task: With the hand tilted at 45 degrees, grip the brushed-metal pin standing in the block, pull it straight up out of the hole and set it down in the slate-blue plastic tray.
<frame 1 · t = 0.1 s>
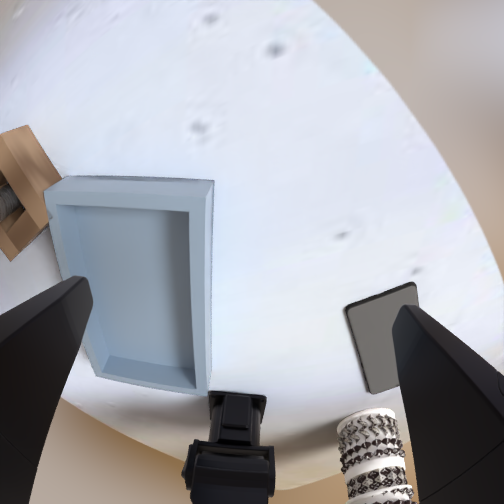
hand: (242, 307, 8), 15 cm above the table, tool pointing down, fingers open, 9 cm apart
decorative candle: (366, 422, 37), on the table
pin block: (26, 187, 22), on the table
tray: (144, 288, 27), on the table
smartphone: (389, 342, 30), on the table
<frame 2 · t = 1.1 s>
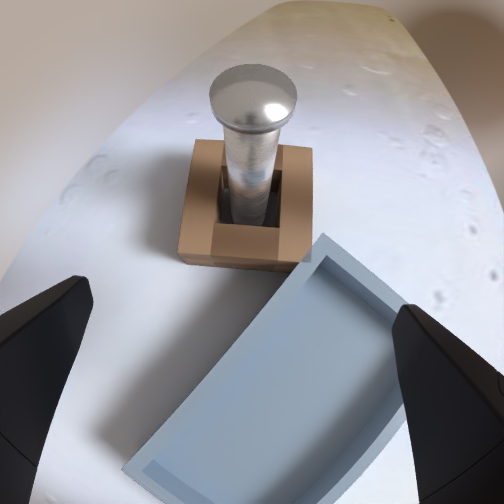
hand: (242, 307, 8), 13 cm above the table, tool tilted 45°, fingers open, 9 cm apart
pin block: (248, 214, 23), on the table
tray: (289, 410, 20), on the table
metal pin: (250, 172, 17), in the pin block
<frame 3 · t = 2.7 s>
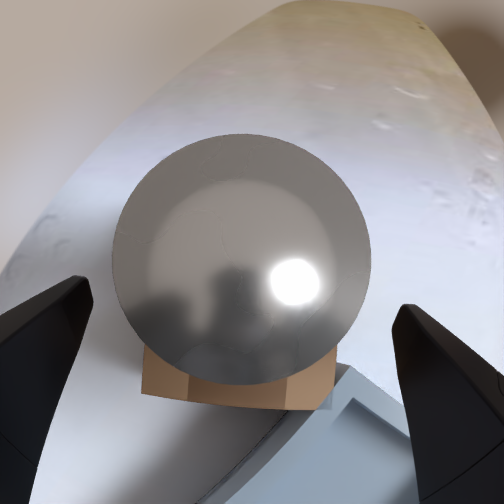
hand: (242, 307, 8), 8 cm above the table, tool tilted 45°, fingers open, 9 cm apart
pin block: (243, 316, 16), on the table
metal pin: (243, 303, 10), in the pin block
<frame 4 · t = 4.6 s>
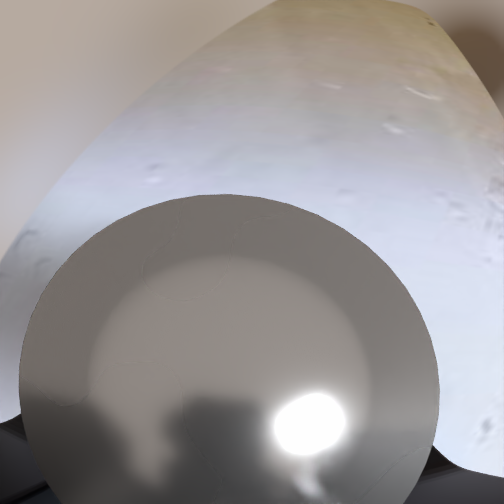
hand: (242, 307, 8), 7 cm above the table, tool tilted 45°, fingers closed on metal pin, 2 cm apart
metal pin: (237, 358, 8), in the pin block, touching gripper
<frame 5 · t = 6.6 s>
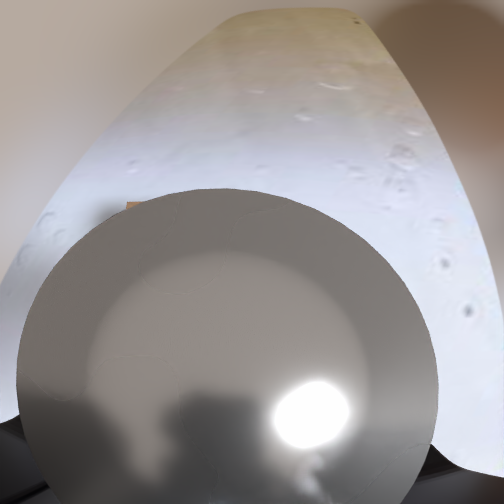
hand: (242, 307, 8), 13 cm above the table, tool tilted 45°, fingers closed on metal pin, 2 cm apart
metal pin: (237, 357, 8), point 13 cm above the table, touching gripper
when the fingers open (9 cm above the table, at t = 8.6 s): metal pin drops 2 cm, resting on tray.
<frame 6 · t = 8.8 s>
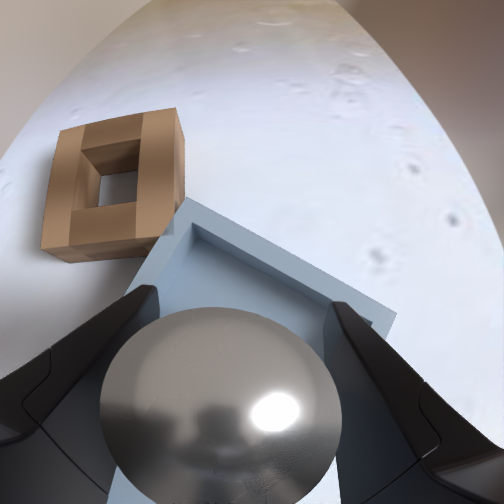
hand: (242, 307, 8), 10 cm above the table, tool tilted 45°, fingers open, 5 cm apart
pin block: (125, 198, 19), on the table
tray: (197, 417, 16), on the table
metal pin: (236, 363, 10), in the tray, point 8 cm above the table
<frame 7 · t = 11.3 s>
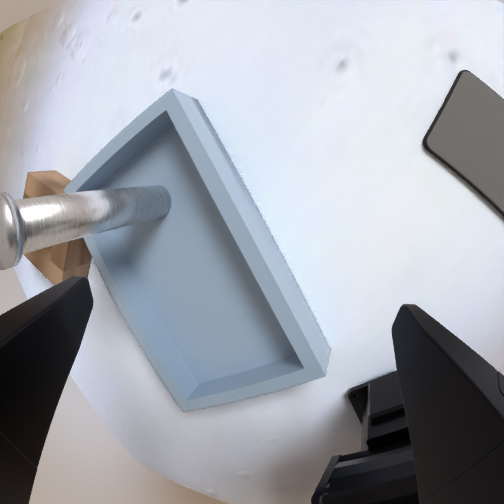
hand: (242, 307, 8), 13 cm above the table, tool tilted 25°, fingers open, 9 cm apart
pin block: (68, 224, 27), on the table
tray: (195, 260, 23), on the table
metal pin: (94, 212, 16), in the tray, point 8 cm above the table
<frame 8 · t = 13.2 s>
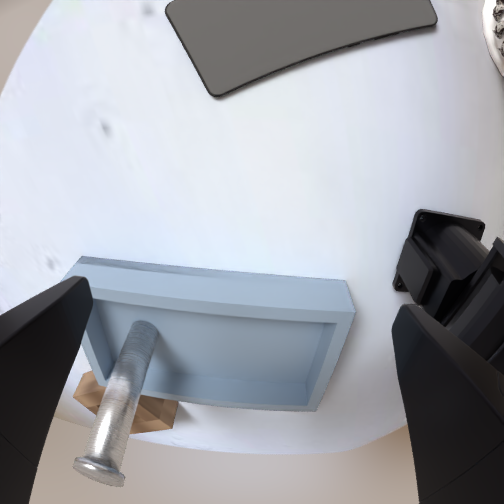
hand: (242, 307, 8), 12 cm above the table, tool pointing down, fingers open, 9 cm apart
pin block: (129, 388, 31), on the table
tray: (206, 330, 25), on the table
smartphone: (306, 3, 14), on the table
metal pin: (122, 395, 19), in the tray, point 8 cm above the table
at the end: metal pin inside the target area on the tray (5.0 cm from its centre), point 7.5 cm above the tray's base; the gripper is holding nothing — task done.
